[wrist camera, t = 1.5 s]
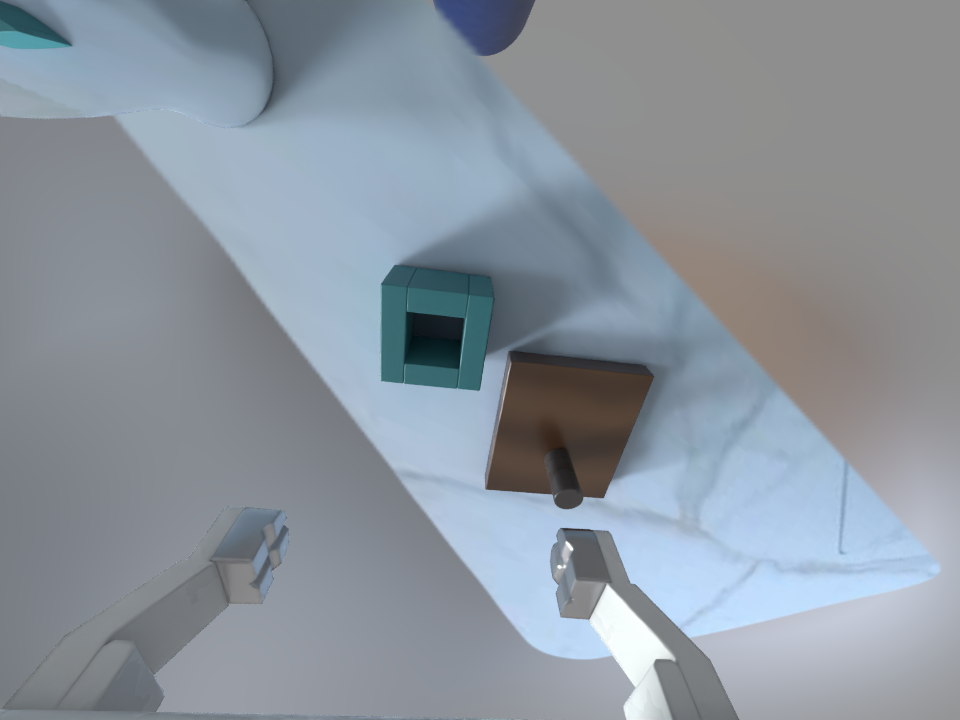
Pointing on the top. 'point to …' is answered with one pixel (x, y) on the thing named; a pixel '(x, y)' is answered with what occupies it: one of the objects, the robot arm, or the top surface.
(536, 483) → the base pad
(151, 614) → the robot arm
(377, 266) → the top surface
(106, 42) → the beer glass
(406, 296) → the teal hollow square block
